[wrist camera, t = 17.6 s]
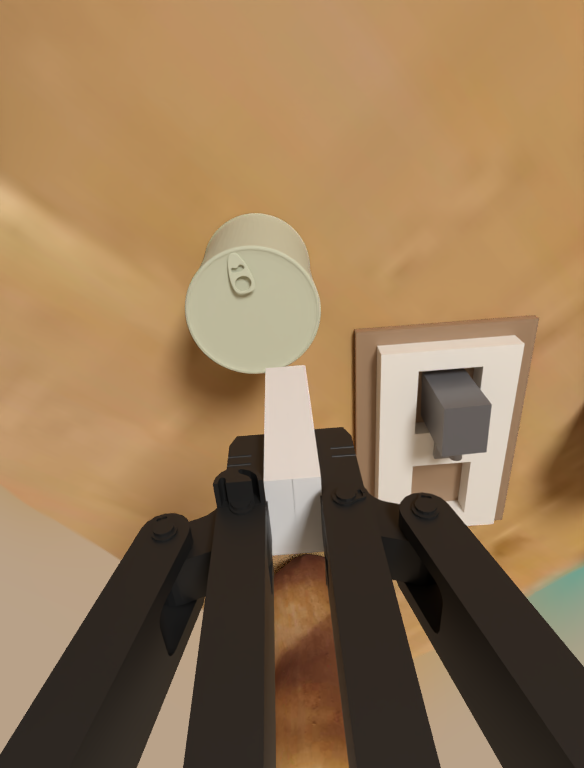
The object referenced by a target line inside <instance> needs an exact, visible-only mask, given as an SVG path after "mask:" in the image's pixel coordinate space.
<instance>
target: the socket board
mask: <svg viewBox="0 0 584 768" xmlns="http://www.w3.org/2000/svg"><path fill="white" fill-rule="evenodd" d="M538 321H539V318H538V317H536V316H535V315H534V316H521V317H508V318H495V319H482V320H470V321H457V322H444V323H431V324H418V325H405V326H392V327H379V328H367V329H355V453H356V457H357V461H358V465H359V469H360V473H361V477H362V481H363V485H364V487H365V488H366V489H367V491H368V492H369V494H371V495H372V496H373V497H375V498H377V499H380V500H382V501H386V502H391V503H397V504H400V502H401V501H402V500H403V499H404V498H405V497H406V496H408V495H410V494H413V493H421V492H423V493H430V494H434V495H436V496H438V497H441V498H442V499H443V500H445V501H446V502H447V503H448V504H449V505H450V506H451V508H452V509H453V510H454V511H455V512H456V514H457V515H458V516H459V517H460V518H461V520H462V521H463V522H464V523H465V524H466V526H472V525H485V524H494V520H502V517H503V512H504V507H505V501H506V496H507V490H508V485H509V479H510V474H511V468H512V463H513V457H514V452H515V447H516V441H517V436H518V430H519V425H520V419H521V414H522V408H523V403H524V398H525V392H526V387H527V381H528V376H529V370H530V365H531V359H532V354H533V349H534V343H535V338H536V332H537V327H538ZM458 368H464V369H465V370H466V371H467V373H468V374H469V375H470V377H471V378H472V379H473V381H474V382H475V383H476V384H477V386H478V387H479V388H480V390H481V391H482V392H483V394H484V395H485V396H486V398H487V399H488V400H489V401H490V403H491V404H492V408H491V416H490V425H489V434H488V443H487V452H484V453H474V454H465V455H462V459H461V460H460V461H453V460H451V459H450V458H449V456H445V457H442V456H441V454H440V452H439V450H438V448H437V446H436V444H435V443H434V441H433V439H432V437H431V435H430V433H429V431H428V429H427V427H426V425H425V423H424V421H423V419H422V417H421V391H422V372H424V371H433V370H445V369H458Z"/></svg>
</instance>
